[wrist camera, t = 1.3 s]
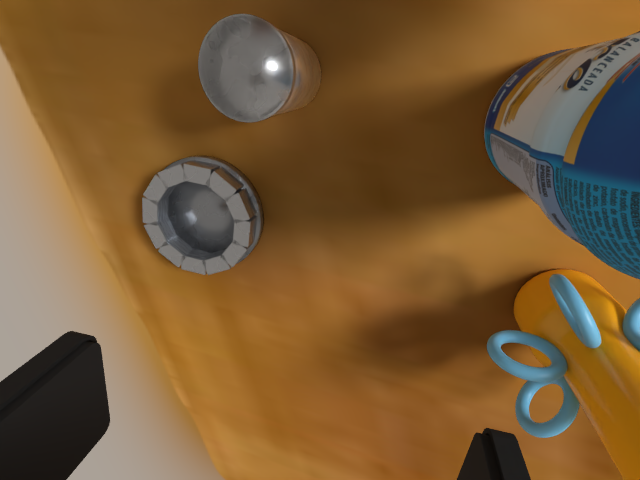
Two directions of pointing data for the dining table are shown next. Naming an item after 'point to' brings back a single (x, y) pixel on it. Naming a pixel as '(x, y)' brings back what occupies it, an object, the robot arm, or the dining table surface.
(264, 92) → the silver metal cylinder
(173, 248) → the duct flange
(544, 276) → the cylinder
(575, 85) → the blue lidded canister
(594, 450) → the dining table surface
